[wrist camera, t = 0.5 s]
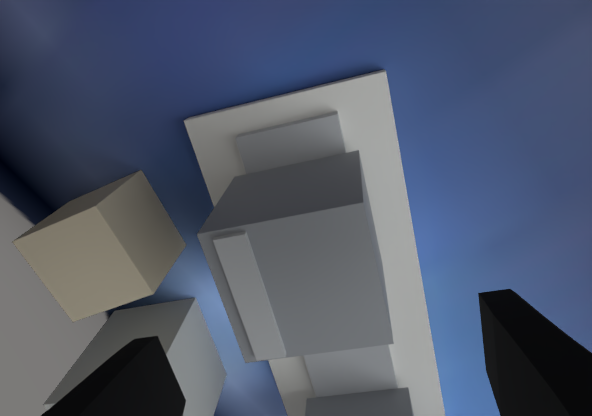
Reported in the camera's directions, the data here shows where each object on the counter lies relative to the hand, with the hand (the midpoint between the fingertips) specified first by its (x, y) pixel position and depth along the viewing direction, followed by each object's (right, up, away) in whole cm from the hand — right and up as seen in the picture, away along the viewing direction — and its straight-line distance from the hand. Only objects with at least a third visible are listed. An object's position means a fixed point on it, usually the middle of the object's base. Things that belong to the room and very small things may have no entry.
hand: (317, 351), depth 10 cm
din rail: (+2, -2, +12) cm, 12 cm away
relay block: (-8, +3, +11) cm, 14 cm away
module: (-7, -4, +14) cm, 16 cm away
